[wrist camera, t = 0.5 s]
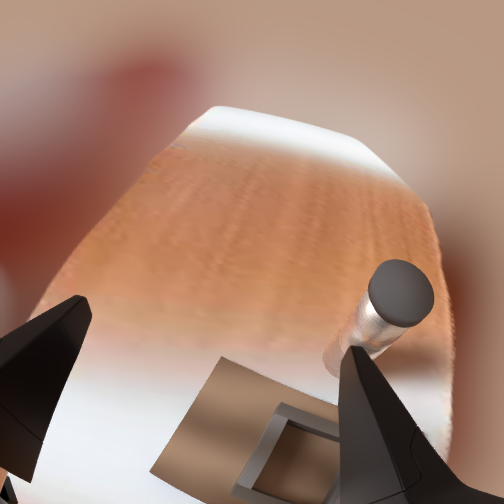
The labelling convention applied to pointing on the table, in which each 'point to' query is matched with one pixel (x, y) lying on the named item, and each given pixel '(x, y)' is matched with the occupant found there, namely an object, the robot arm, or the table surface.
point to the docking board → (254, 443)
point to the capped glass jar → (383, 312)
